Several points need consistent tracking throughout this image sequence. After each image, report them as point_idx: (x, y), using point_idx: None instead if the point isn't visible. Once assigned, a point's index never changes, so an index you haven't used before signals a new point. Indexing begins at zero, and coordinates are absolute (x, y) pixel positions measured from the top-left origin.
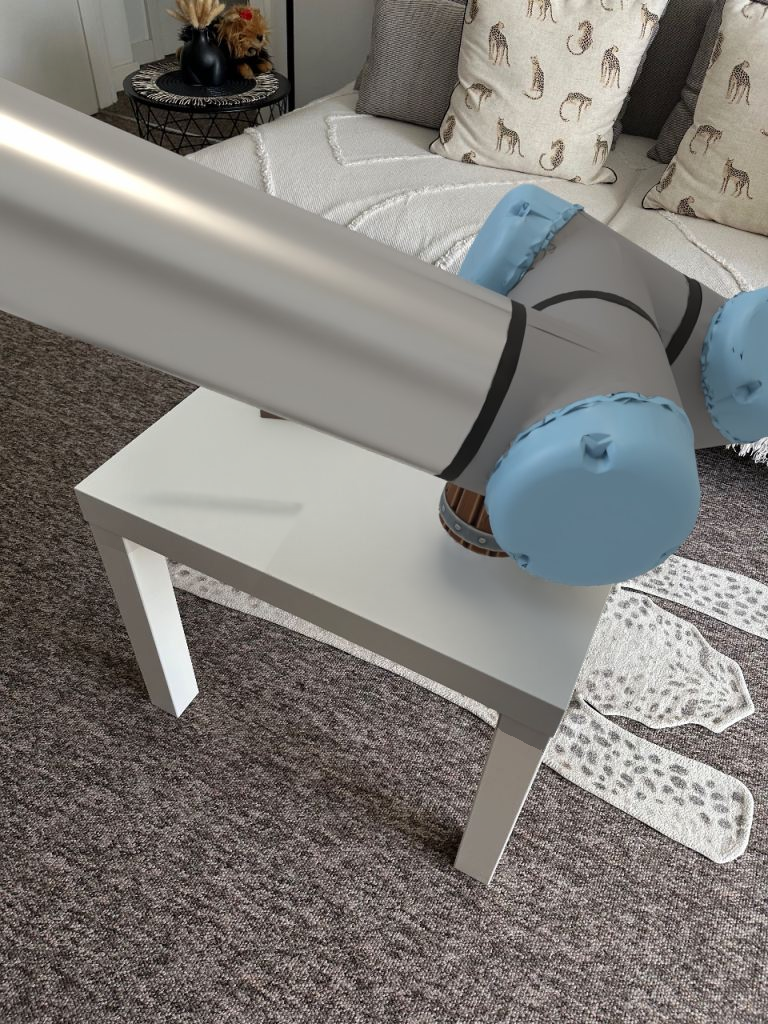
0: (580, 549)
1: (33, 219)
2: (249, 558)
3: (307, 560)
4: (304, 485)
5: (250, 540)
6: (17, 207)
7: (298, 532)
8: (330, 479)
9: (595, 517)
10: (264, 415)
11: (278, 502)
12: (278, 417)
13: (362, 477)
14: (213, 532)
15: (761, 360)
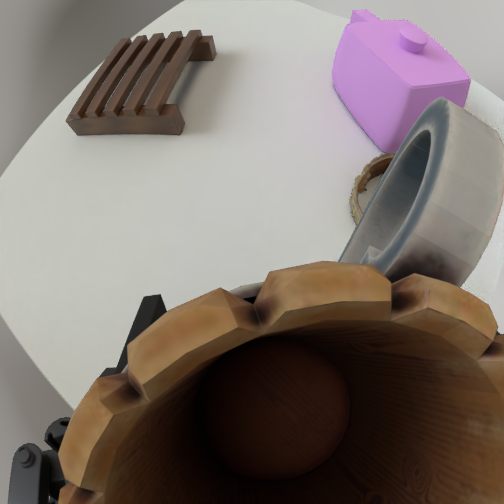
0: None
1: None
2: (26, 346)
3: (68, 362)
4: (83, 238)
5: (28, 321)
6: None
7: (64, 316)
8: (111, 228)
9: None
10: (78, 133)
11: (56, 265)
12: (90, 133)
13: (147, 224)
14: (7, 304)
15: None
